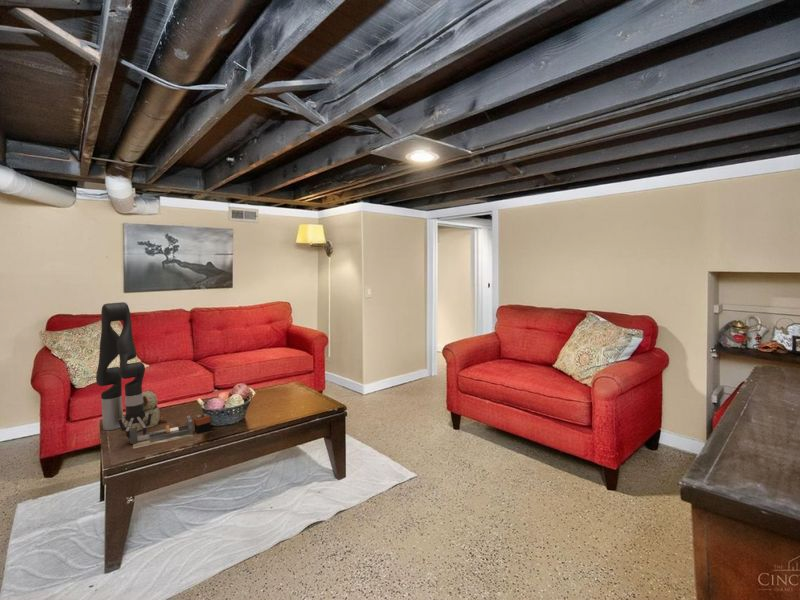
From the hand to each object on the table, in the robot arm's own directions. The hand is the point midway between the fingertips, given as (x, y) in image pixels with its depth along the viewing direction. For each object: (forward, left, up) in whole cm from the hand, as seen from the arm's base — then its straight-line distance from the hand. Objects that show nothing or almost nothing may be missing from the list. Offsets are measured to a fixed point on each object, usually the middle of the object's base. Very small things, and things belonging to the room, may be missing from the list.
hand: (136, 436), depth 199 cm
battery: (+3, +29, -5) cm, 30 cm away
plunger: (0, +6, -3) cm, 7 cm away
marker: (0, +16, -3) cm, 17 cm away
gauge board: (0, +11, -4) cm, 12 cm away
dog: (-24, +5, -5) cm, 25 cm away
